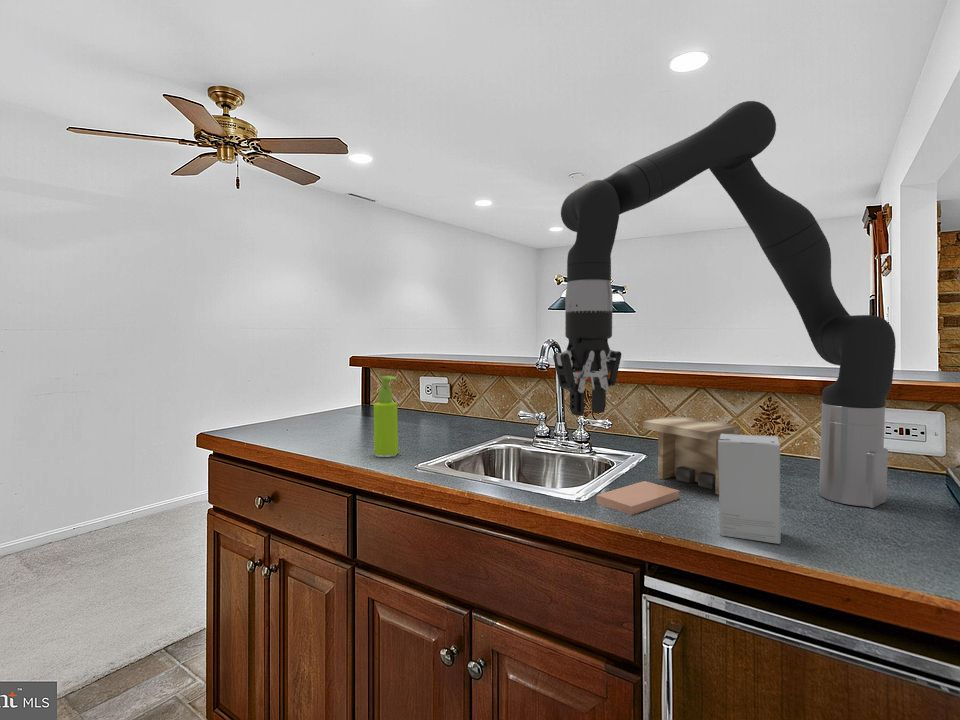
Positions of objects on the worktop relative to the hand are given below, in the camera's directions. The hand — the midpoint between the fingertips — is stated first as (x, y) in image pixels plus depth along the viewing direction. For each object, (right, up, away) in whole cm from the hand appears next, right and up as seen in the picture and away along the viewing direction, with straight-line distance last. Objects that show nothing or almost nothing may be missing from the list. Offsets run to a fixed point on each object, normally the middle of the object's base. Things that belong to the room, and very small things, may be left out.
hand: (588, 413), depth 85 cm
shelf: (+23, -16, +17) cm, 33 cm away
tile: (+11, -17, +8) cm, 22 cm away
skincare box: (+23, -18, -7) cm, 30 cm away
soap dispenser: (-41, -15, +44) cm, 62 cm away
